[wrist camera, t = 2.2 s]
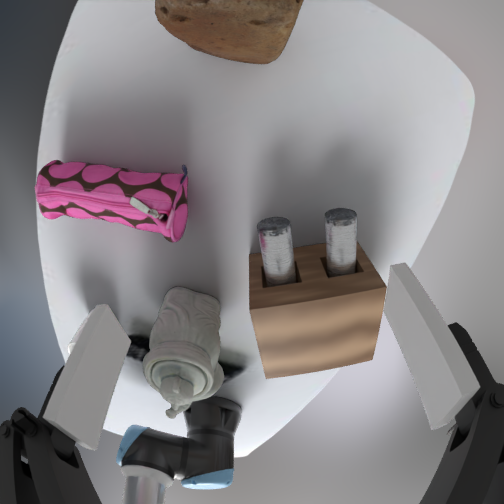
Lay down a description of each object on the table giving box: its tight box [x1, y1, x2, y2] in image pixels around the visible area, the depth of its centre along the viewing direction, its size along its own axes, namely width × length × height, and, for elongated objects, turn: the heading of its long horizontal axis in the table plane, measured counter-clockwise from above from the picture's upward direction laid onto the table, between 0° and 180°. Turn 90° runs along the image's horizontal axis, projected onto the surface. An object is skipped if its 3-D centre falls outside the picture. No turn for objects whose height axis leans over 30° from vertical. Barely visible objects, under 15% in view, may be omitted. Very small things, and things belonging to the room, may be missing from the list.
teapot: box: [143, 287, 224, 419], centre depth 39 cm, size 16×15×19 cm
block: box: [155, 0, 303, 64], centre depth 17 cm, size 11×8×20 cm
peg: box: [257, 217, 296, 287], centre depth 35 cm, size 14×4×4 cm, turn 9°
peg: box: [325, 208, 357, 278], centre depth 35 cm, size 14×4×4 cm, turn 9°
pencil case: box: [35, 160, 188, 242], centre depth 31 cm, size 21×10×10 cm, turn 80°
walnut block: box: [249, 240, 387, 379], centre depth 39 cm, size 14×16×12 cm
